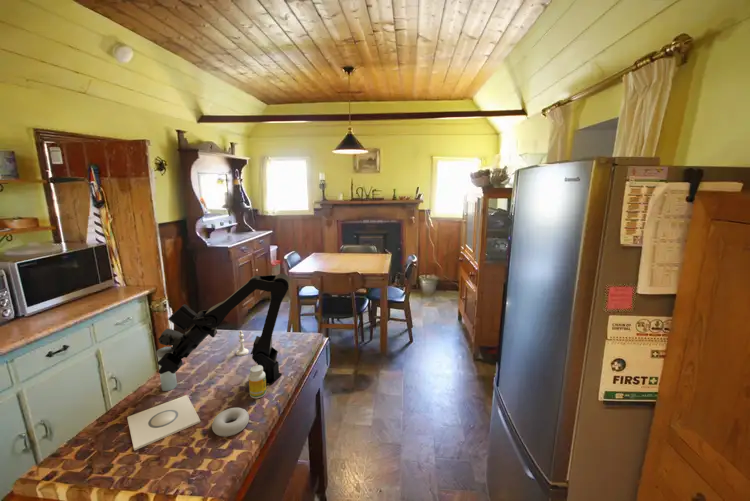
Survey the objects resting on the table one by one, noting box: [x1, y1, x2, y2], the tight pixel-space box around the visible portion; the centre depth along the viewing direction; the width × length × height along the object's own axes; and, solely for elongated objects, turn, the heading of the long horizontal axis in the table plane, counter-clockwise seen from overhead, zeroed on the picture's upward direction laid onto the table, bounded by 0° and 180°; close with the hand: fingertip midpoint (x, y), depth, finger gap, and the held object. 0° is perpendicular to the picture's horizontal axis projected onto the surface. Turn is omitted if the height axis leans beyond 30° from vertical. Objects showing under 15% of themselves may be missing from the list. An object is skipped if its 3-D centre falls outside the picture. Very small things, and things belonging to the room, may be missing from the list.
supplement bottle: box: [248, 364, 267, 399], centre depth 108 cm, size 5×5×10 cm
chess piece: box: [236, 330, 250, 357], centre depth 135 cm, size 5×5×10 cm
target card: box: [127, 394, 201, 451], centre depth 96 cm, size 16×16×1 cm
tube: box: [156, 346, 178, 392], centre depth 111 cm, size 5×5×14 cm
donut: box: [211, 407, 250, 438], centre depth 94 cm, size 10×4×10 cm
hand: (162, 369), depth 111 cm, fingers closed on tube, 4 cm apart
